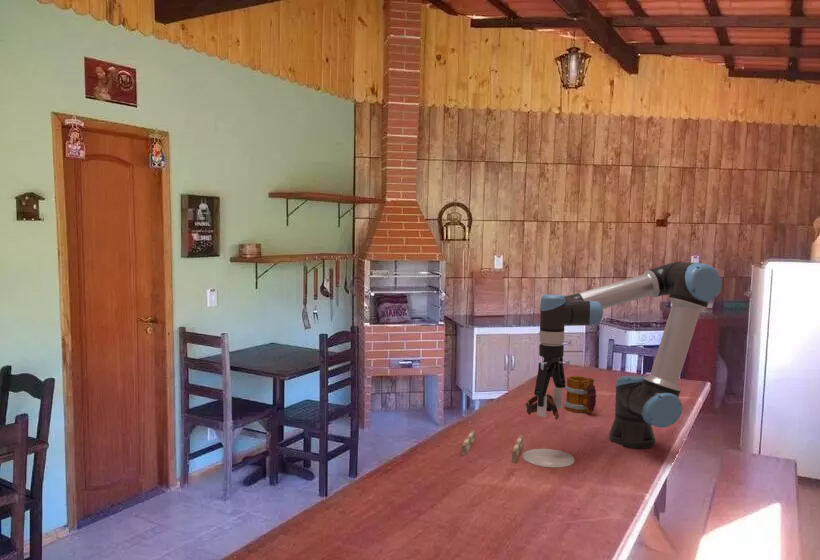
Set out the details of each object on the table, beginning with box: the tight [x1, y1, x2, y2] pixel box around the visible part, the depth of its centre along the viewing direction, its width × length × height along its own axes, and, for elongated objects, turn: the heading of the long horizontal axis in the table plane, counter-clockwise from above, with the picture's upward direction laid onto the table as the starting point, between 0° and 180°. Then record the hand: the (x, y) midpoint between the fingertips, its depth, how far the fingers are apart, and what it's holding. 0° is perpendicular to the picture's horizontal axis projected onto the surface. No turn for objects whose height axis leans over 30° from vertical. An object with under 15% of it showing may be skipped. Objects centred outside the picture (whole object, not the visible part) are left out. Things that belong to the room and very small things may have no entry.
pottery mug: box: [525, 393, 560, 421], centre depth 200 cm, size 12×9×8 cm
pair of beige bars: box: [461, 429, 524, 463], centre depth 206 cm, size 16×17×4 cm
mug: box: [563, 375, 597, 415], centre depth 253 cm, size 11×16×15 cm, turn 18°
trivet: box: [522, 448, 575, 469], centre depth 200 cm, size 16×16×1 cm
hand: (549, 411), depth 199 cm, fingers closed on pottery mug, 12 cm apart
